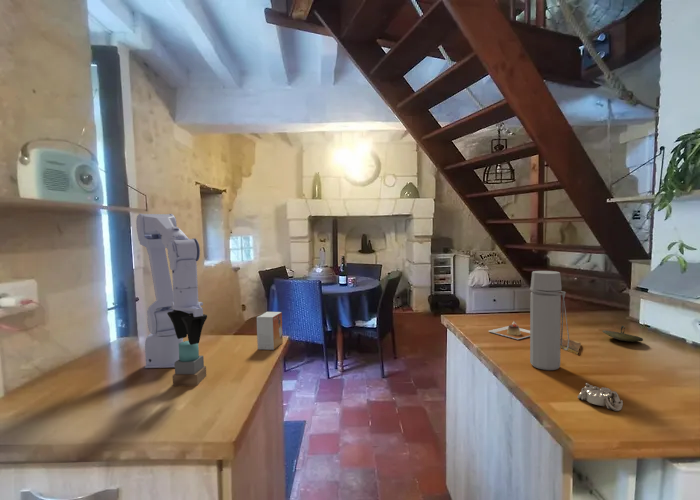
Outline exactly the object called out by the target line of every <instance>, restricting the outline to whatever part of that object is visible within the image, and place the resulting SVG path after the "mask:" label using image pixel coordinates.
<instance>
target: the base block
mask: <svg viewBox="0 0 700 500" xmlns="http://www.w3.org/2000/svg"><path fill="white" fill-rule="evenodd" d="M206 377H207V366H206V365H204V367H203V368H202V369H201V370H199V371H198V372H197V373H196V374H175V373H174V374H172V387H179V386H180V387H181V386H182V387H184V386H185V387H187V386H199V385H200V384H201V382H202V381H203V380H204V379H206Z"/></svg>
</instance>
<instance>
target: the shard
mask: <svg viewBox="0 0 700 500" xmlns="http://www.w3.org/2000/svg"><path fill="white" fill-rule="evenodd" d="M581 345H582V343H581V342H580V341H577V340H572V339H569V347H568V350H565V351H567V352H569V353H572V354H575V355H579V352H580V349H581ZM562 346H563V348H564V349H567V346H568V338H562ZM562 346H561V342H560V349H562V350H564V349H563V348H562Z"/></svg>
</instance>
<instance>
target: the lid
mask: <svg viewBox="0 0 700 500" xmlns="http://www.w3.org/2000/svg"><path fill="white" fill-rule="evenodd" d="M625 329H626V327H625V326H624V325H621V327H620V332H618V331H611V330H605V329H603V330H602V333H604V334H605V335H606V336H608V337H611V338H613V339H616V340H619V341H622V342H632V343H633V342H643V341H644V339H643V337H640V336H639V335H638V336H637V335H633V334H628V333H625V331H622V330H625Z"/></svg>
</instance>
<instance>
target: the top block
mask: <svg viewBox="0 0 700 500" xmlns="http://www.w3.org/2000/svg"><path fill="white" fill-rule="evenodd" d="M204 363H205V361H204V355H199V358H198V359H197V360H194V361H189V362H181V361H179V360H177V361H176V362H175V367H174V374H196V373H197V372H198V371H199V370H201V369H202V368H203V367H204V366H205V365H204Z"/></svg>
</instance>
